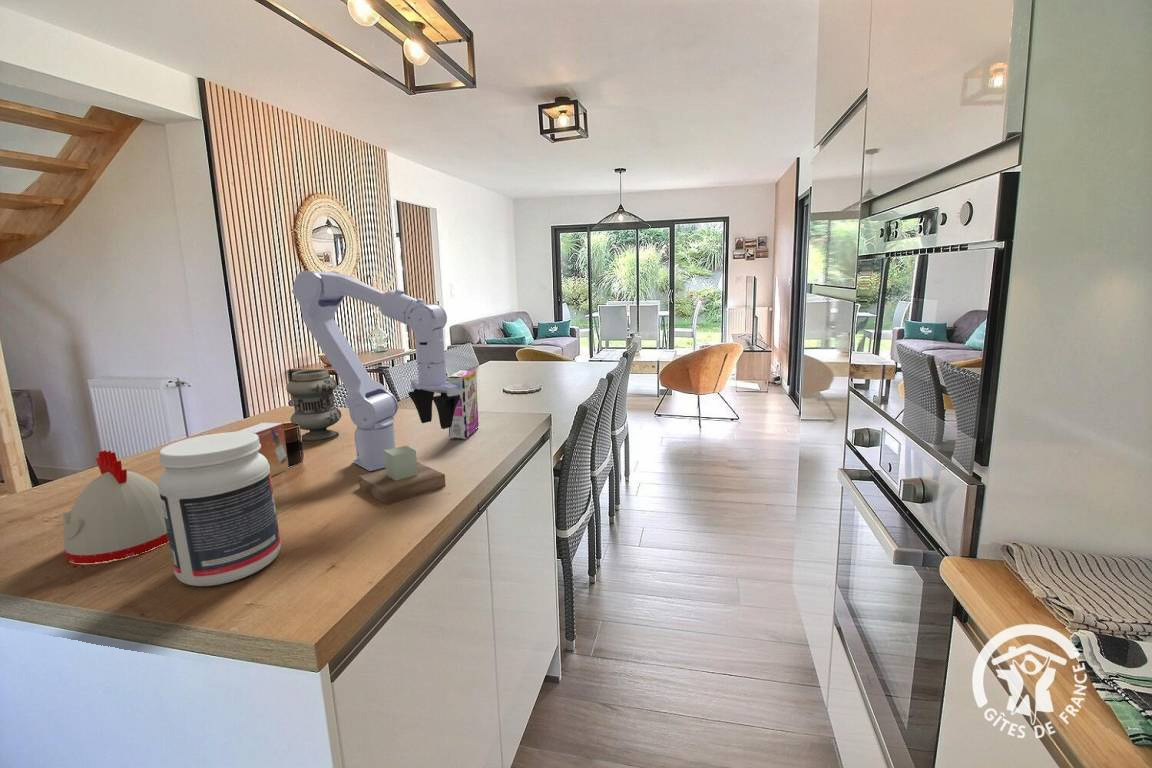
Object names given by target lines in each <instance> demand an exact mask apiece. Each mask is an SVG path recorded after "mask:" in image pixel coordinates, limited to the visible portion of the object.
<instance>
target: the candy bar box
mask: <svg viewBox="0 0 1152 768" xmlns="http://www.w3.org/2000/svg"><path fill="white" fill-rule="evenodd" d="M446 378H447V382H449V383H451V384H452V385H455V386H457V393H458V394H460V399H459V401H458V403H457V405H456V408H455V411H454V416H453V421H452V426H451V427H450V428H448V433H449V440H455V439H456V440H457V439H466V440H468V439H469V438H470V437H471V436H472V435H473V434H474V433H475V432H476V431H477V430H476V428H477V427H478V426H479V412H478V411H479V409H478V407H479V406H478V405H479V404H478V403H479V402H478V386H477V385H478V383H477V382H478V381H477V370H473V369H472V370H471V369H470V370H467V369H465V370H458V371H456V372H454V373H451V374H450V375H448V376H447V375H446ZM475 430H476V431H475ZM474 431H475V432H474ZM473 432H474V433H473ZM472 433H473V434H472ZM471 434H472V435H471ZM470 435H471V436H470ZM469 436H470V437H469ZM468 437H469V438H468ZM467 438H468V439H467Z"/></svg>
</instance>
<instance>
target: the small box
mask: <svg viewBox="0 0 1152 768" xmlns="http://www.w3.org/2000/svg"><path fill="white" fill-rule="evenodd" d="M234 432H250V433H254V434H257V435H258V437H259V442H260V444H261V448H260V449H259V450H258V453H260V454H262V455H263V456H264V457H265V458H266V459H267V461H268V463H269V465H270V475H271V478H272V477H273V476H276V475H278V474H280V473H283V472H286V471H288V470H289V461H288V460H289V459H288V453H287V445H286V438H285V437H286V436H285V429H284V424H283V423H280V422H277V423H276V422H260V423H258V424H255V425H252V426H249V427H247V428H243V429H240V430H235V431H234Z"/></svg>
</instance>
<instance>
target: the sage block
mask: <svg viewBox="0 0 1152 768" xmlns="http://www.w3.org/2000/svg"><path fill="white" fill-rule="evenodd" d="M384 455H385V466H386V467H385V469H386V475H387V476H389V477H390V478H392V479H393V480H395V481H397V480H401V479H404V478H408V477H412V476H416V475H418V471H417V462H418V461H417V460H418V459H417V450H416V449H413V448H412V447H410V446H408V445H402V446H399V447H396V448H393V449H388V450H384Z"/></svg>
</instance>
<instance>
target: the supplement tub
mask: <svg viewBox="0 0 1152 768" xmlns="http://www.w3.org/2000/svg"><path fill="white" fill-rule="evenodd" d="M260 448H261V444H260V442H259V437H258V435H257V434H254V433H250V432H235V431H230V432H220V433H212V434H211V433H210V434H206V435H200V436H195V437H191V438H190V437H189V438H186V439H182V440H179V441H177V442H176V441H175V442H173V443H170V444H168V445H165V446H164V447H162V448H161V449H160V450H159V451H158V452H159V453H158V454H159V459H160V460H159V465H160V466H161V467H162V468H163V467H164V468H165V470H164V471H163V472H162V473H161V474H160V476H159V478H158V482H157V486H158V490H159V492H160V498H161V503H162V508H163V513H164V519H165V524H166V529H167V534H168V540H169V543H168V545H169V550H170V555H171V559H172V566H173V573H174V575H175V577H176V578H177V580H178V581H180V582H181V583H184V584H185V585H189V586H193V587H211V586H218V585H224V584H229V583H231V582H235V581H239V580H241V579H243V578H246V577H248V576H251V575H253V574H255V573H257V572H259V571H261V570H263V569H265V567H268V565H270V563H272V562H273V561H275V559H276V558H277V556H278V555H279V554H280V551H281V546H282V541H281V537H280V529H279V524H278V523H279V522H278V517H277V515H278V514H277V509H276V504H275V503H276V502H275V496H274V489H273V482H272V477H271V475H270V465H269V463H268V461H267V459H266V458H265V457H264V456H263V455H262V454H260V453H258V450H259V449H260Z"/></svg>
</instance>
